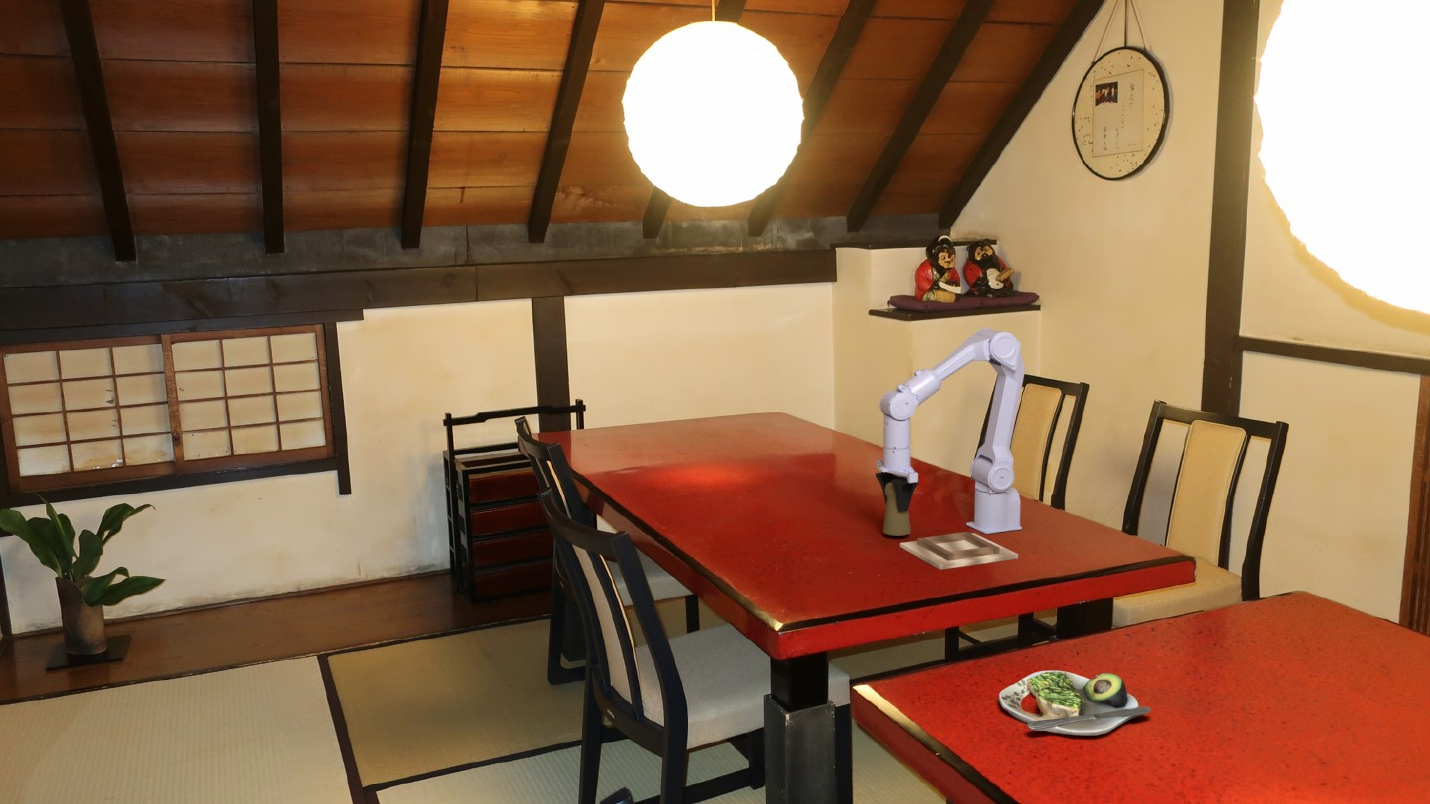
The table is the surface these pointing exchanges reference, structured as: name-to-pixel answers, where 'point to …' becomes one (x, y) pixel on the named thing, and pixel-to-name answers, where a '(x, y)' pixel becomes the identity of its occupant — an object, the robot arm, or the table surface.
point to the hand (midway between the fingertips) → (896, 507)
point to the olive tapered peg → (894, 515)
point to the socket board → (957, 550)
